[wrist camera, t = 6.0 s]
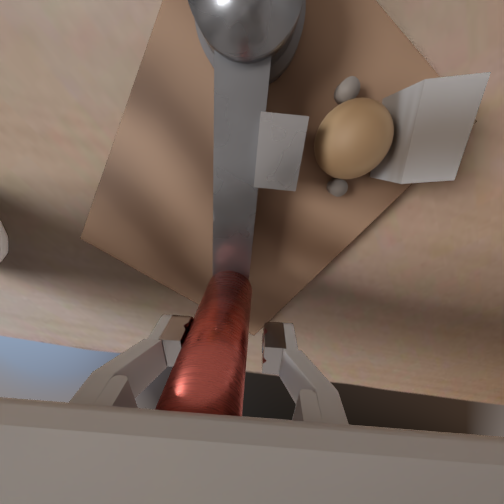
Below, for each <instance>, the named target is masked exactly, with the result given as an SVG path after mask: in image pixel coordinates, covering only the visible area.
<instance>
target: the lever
mask: <svg viewBox="0 0 504 504" xmlns="http://www.w3.org/2000/svg"><path fill="white" fill-rule="evenodd" d="M188 3H189V6H190V9H191V12H192V14H193V16H194V18H195V21H196V23H197V25H198V27H199V29H200V31H201V33H202V34H203V36H204V38H205V40H206V42H207V44H208V46H209V48H210V49H211V51H212V53H213V54H214V150H213V277H212V278H211V279H210V281H209V283H208V286H207V288H206V290H205V293H204V295H203V297H202V300H201V302H200V305H199V307H198V309H197V312H196V314H195V316H194V319H193V321H192V323H191V326H190V328H189V331H188V333H187V335H186V338H185V340H184V342H183V345H182V347H181V350H180V352H179V354H178V357H177V359H176V361H175V364H174V366H173V368H172V371H171V373H170V376H169V378H168V380H167V383H166V385H165V387H164V390H163V392H162V395H161V397H160V399H159V402H158V404H157V406H156V409H155V410H167V411H179V412H192V413H205V414H218V415H231V416H242V407H243V395H244V383H245V371H246V358H247V346H248V334H249V322H250V309H251V297H252V286H251V284H250V282H249V273H250V264H251V254H252V244H253V234H254V224H255V215H256V205H257V195H258V188H267V189H277V190H287V191H296V187H297V181H298V176H299V170H300V165H301V159H302V154H303V148H304V143H305V137H306V132H307V126H308V121H309V116H301V115H291V114H282V113H272V112H266V107H267V97H268V87H269V77H270V67H271V66H272V65H273V64H274V63H275V62H276V61H278V60H279V59H280V57H281V56H282V55H283V54H284V52H285V51H286V49H287V48H288V46H289V44H290V42H291V40H292V38H293V36H294V33H295V30H296V27H297V23H298V19H299V16H300V12H301V8H302V4H303V0H188Z"/></svg>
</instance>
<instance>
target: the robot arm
mask: <svg viewBox="0 0 504 504" xmlns="http://www.w3.org/2000/svg"><path fill="white" fill-rule="evenodd" d="M192 321H193V317H190V316H180V315H168V314H164V315H162V316H161V318H160V319H159V321H158V323H157V324H156V326H155V327H154V329H153V330H152V332H151V334H150V335H149V337H148V338H147V339H143V340H142V341H140V342H139V343H137V344H135V345H134V346H132V347H131V348H129V349H128V350H126V351H125V352H123V353H121V354H120V355H118V356H117V357H115V358H114V359H112V360H111V361H109V362H107V363H106V364H104V365H103V366H101V367H100V368H98V369H97V370H95V371H93V372H92V373H91V375H90V376H89V377H88V379H87V380H86V381H85V382H84V384H83V385H82V386H81V388H80V389H79V390H78V391H77V393H76V394H75V395H74V396H73V398H72V399H71V400H70V402H69V403H65V402H53V401H40V400H28V399H16V398H3V397H0V504H504V437H496V436H484V435H470V434H459V433H446V432H433V431H420V430H408V429H395V428H383V427H370V426H357V425H349V424H348V421H347V418H346V415H345V412H344V409H343V406H342V403H341V399H340V396H339V393H338V391H337V390H336V389H335V388H334V386H333V385H332V384H331V383H330V382H329V381H328V380H327V378H326V377H325V376H324V375H323V374H322V373H321V372H320V371H319V370H318V368H317V367H316V366H315V365H314V364H313V363H312V362H311V361H310V360H309V358H308V357H307V356H306V355H305V354H304V353H303V352H302V351H301V350H298V346H297V341H296V335H295V330H294V325H293V323H279V322H264V325H263V336H262V373H267V374H277V375H279V376H280V378H281V380H282V381H283V383H284V385H285V386H286V388H287V390H288V391H289V393H290V395H291V396H292V398H293V400H294V402H295V403H296V407H295V411H294V415H293V419H292V420H281V419H269V418H256V417H243V416H231V415H218V414H205V413H192V412H179V411H167V410H153V409H141V408H138V407H137V404H136V401H135V398H136V397H137V396H138V395H139V394H140V393H141V392H142V391H143V390H144V389H145V388H146V387H147V386H148V385H149V384H150V383H151V382H152V381H153V380H154V379H155V378H156V377H157V376H158V375H159V374H160V373H161V372H163V371H164V370H165V369H166V368H167V366H171V367H173V366H174V364H175V361H176V359H177V357H178V354H179V352H180V350H181V347H182V345H183V342H184V340H185V338H186V335H187V333H188V331H189V328H190V326H191V323H192Z"/></svg>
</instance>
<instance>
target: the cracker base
mask: <svg viewBox="0 0 504 504" xmlns="http://www.w3.org/2000/svg"><path fill="white" fill-rule="evenodd" d="M490 73H491V72H486V73H477V74H468V75H458V76H449V77H440V76H439V75H438V74H437V73H436V72H435V71H434V69H433V68H432V67H431V66H430V65H429V63H428V62H427V61H426V60H425V59H424V57H423V56H422V55H421V54H420V53H419V51H418V50H417V49H416V48H415V47H414V45H413V44H412V43H411V42H410V41H409V39H408V38H407V37H406V36H405V35H404V33H403V32H402V31H401V30H400V29H399V28H398V26H397V25H396V24H395V23H394V22H393V20H392V19H391V18H390V17H389V16H388V14H387V13H386V12H385V11H384V10H383V8H382V7H381V6H380V5H379V4H378V2H377V1H376V0H303V4H302V8H301V12H300V16H299V19H298V23H297V27H296V30H295V33H294V36H293V38H292V40H291V42H290V44H289V46H288V48H287V49H286V51H285V52H284V54H283V55H282V56H281V57H280V59H279V60H278V61H276V62H275V63H274V64H273V65H272V66H271V67H270V77H269V87H268V97H267V107H266V112H272V113H282V114H291V115H301V116H309V121H308V126H307V132H306V137H305V143H304V148H303V154H302V159H301V165H300V170H299V176H298V181H297V187H296V191H287V190H277V189H267V188H258V195H257V205H256V215H255V224H254V234H253V244H252V254H251V264H250V273H249V282H250V284H251V286H252V297H251V309H250V322H249V333H250V334H252V335H255V334H256V333H257V332H258V331H259V330H260V329H261V328H262V327H263V325H264V322H269V321H270V320H271V319H272V318H273V317H274V316H275V315H276V314H277V313H278V312H279V311H280V310H281V309H282V308H283V307H284V306H285V305H286V304H287V303H288V302H289V301H290V300H291V299H292V298H293V297H295V296H296V295H297V294H298V293H299V292H300V291H301V290H302V289H303V288H304V287H305V286H306V285H307V284H308V283H309V282H310V281H311V280H312V279H313V278H314V277H315V276H316V275H317V274H318V273H320V272H321V271H322V270H323V269H324V268H325V267H326V266H327V265H328V264H329V263H330V262H331V261H332V260H333V259H334V258H335V257H336V256H337V255H338V254H339V253H340V252H341V251H342V250H343V249H344V248H346V247H347V246H348V245H349V244H350V243H351V242H352V241H353V240H354V239H355V238H356V237H357V236H358V235H359V234H360V233H361V232H362V231H363V230H364V229H365V228H366V227H367V226H368V225H369V224H370V223H372V222H373V221H374V220H375V219H376V218H377V217H378V216H379V215H380V214H381V213H382V212H383V211H384V210H385V209H386V208H387V207H388V206H389V205H390V204H391V203H392V202H393V201H394V200H395V199H397V198H398V197H399V196H400V195H401V194H402V193H403V192H404V191H405V190H406V189H407V188H408V187H409V186H410V185H411V184H412V183H422V182H436V181H450V180H455V177H456V174H457V171H458V168H459V165H460V162H461V159H462V156H463V153H464V150H465V147H466V144H467V141H468V138H469V135H470V132H471V129H472V126H473V124H475V123H476V122H477V121H476V119H475V118H476V115H477V112H478V109H479V106H480V103H481V100H482V97H483V94H484V91H485V88H486V85H487V82H488V79H489V76H490ZM354 98H370V99H374V100H376V101H378V102H380V103H381V104H383V105H384V106H385V107H386V108H387V110H388V111H389V113H390V115H391V117H392V120H393V125H394V135H393V140H392V144H391V146H390V149H389V151H388V153H387V154H386V156H385V157H384V159H383V160H382V161H381V162H380V163H379V165H377V166H376V167H375V168H374V169H373V170H371V171H370V172H368V173H367V174H365V175H363V176H360V177H357V178H353V179H338V178H334V177H332V176H330V175H328V174H327V173H325V172H324V171H323V170H322V169H321V168H320V166H319V165H318V163H317V160H316V157H315V153H314V141H315V136H316V133H317V130H318V128H319V126H320V124H321V122H322V121H323V119H324V118H325V117H326V116H327V114H328V113H329V112H330V111H332V110H333V109H334V108H335V107H336V106H338V105H339V104H341V103H343V102H345V101H348V100H350V99H354ZM213 150H214V54H213V53H212V51H211V49H210V48H209V46H208V44H207V42H206V40H205V38H204V36H203V34H202V33H201V31H200V29H199V27H198V25H197V23H196V21H195V18H194V16H193V14H192V12H191V9H190V6H189V3H188V0H163V1H162V4H161V7H160V10H159V13H158V15H157V18H156V21H155V24H154V27H153V30H152V33H151V36H150V38H149V41H148V44H147V47H146V50H145V53H144V56H143V59H142V62H141V64H140V67H139V70H138V73H137V76H136V79H135V82H134V85H133V87H132V90H131V93H130V96H129V99H128V102H127V105H126V108H125V111H124V113H123V116H122V119H121V122H120V125H119V128H118V131H117V134H116V136H115V139H114V142H113V145H112V148H111V151H110V154H109V157H108V160H107V162H106V165H105V168H104V171H103V174H102V177H101V180H100V183H99V185H98V188H97V191H96V194H95V197H94V200H93V203H92V206H91V209H90V211H89V214H88V217H87V220H86V223H85V226H84V229H83V232H82V234H81V237H80V239H82V240H84V241H86V242H87V243H89V244H91V245H93V246H95V247H96V248H98V249H100V250H102V251H103V252H105V253H107V254H109V255H111V256H112V257H114V258H116V259H118V260H120V261H121V262H123V263H125V264H127V265H129V266H130V267H132V268H134V269H136V270H138V271H139V272H141V273H143V274H145V275H147V276H148V277H150V278H152V279H154V280H155V281H157V282H159V283H161V284H163V285H164V286H166V287H168V288H170V289H172V290H173V291H175V292H177V293H179V294H181V295H182V296H184V297H186V298H188V299H190V300H191V301H193V302H195V303H197V304H198V305H200V302H201V300H202V297H203V295H204V293H205V290H206V288H207V286H208V283H209V281H210V279H211V278H212V277H213Z"/></svg>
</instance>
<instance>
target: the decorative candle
mask: <svg viewBox="0 0 504 504" xmlns="http://www.w3.org/2000/svg"><path fill="white" fill-rule="evenodd" d="M8 252H9V249H8V235H7V233H6V231H5V229H4V226H3V224H2V222H1V220H0V262H2V260H3V259H4V258H5V256H6V255H7V254H8Z"/></svg>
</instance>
